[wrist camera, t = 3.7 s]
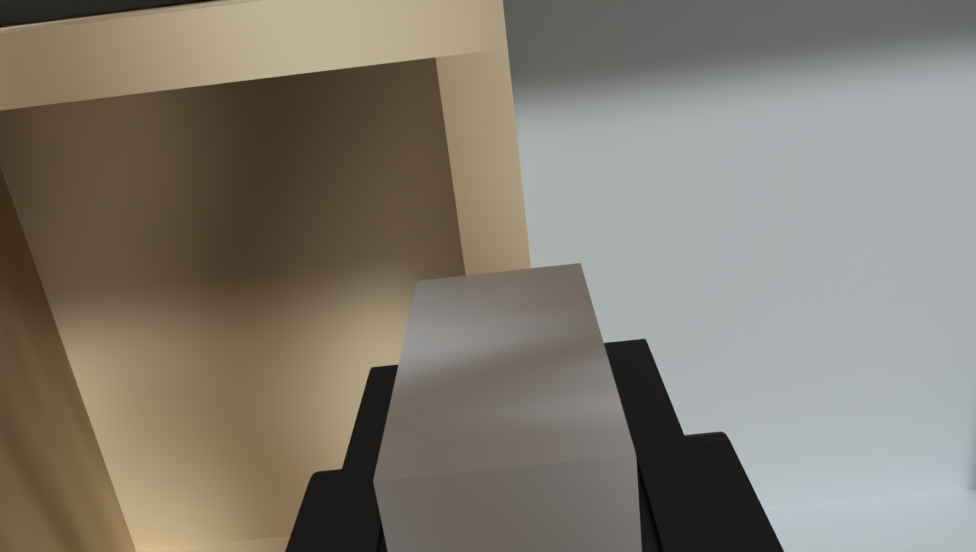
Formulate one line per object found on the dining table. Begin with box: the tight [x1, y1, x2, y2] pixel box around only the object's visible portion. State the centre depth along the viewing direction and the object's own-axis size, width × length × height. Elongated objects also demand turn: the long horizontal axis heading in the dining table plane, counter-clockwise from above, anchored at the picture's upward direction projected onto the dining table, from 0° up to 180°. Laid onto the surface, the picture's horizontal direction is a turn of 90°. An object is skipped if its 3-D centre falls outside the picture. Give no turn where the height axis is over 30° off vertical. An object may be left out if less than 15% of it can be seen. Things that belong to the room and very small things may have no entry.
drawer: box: [0, 0, 642, 552], centre depth 12 cm, size 11×12×10 cm
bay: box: [0, 0, 976, 552], centre depth 14 cm, size 22×15×7 cm, turn 97°
